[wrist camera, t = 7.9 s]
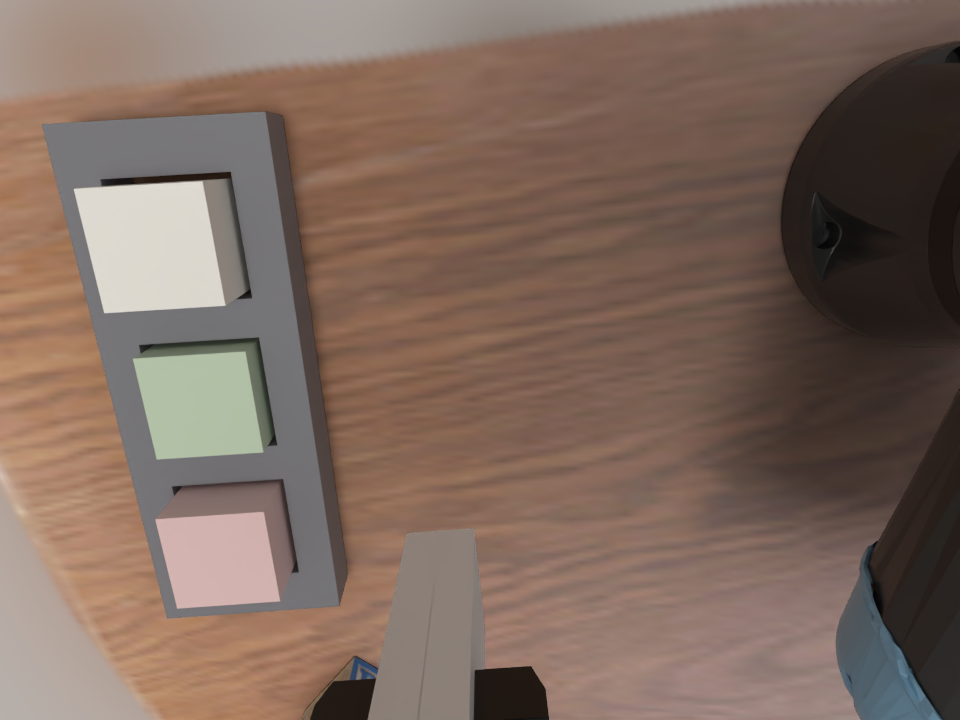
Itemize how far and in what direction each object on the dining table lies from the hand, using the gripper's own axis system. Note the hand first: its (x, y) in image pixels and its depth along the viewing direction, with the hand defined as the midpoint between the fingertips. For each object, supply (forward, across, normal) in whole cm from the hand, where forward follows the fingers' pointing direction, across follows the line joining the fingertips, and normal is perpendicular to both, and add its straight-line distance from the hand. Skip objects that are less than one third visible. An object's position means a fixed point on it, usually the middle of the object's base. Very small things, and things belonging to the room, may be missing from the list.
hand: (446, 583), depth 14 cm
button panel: (+22, -14, -1) cm, 25 cm away
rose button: (+20, -14, -9) cm, 26 cm away
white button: (+20, -13, +7) cm, 25 cm away
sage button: (+21, -14, -1) cm, 25 cm away
